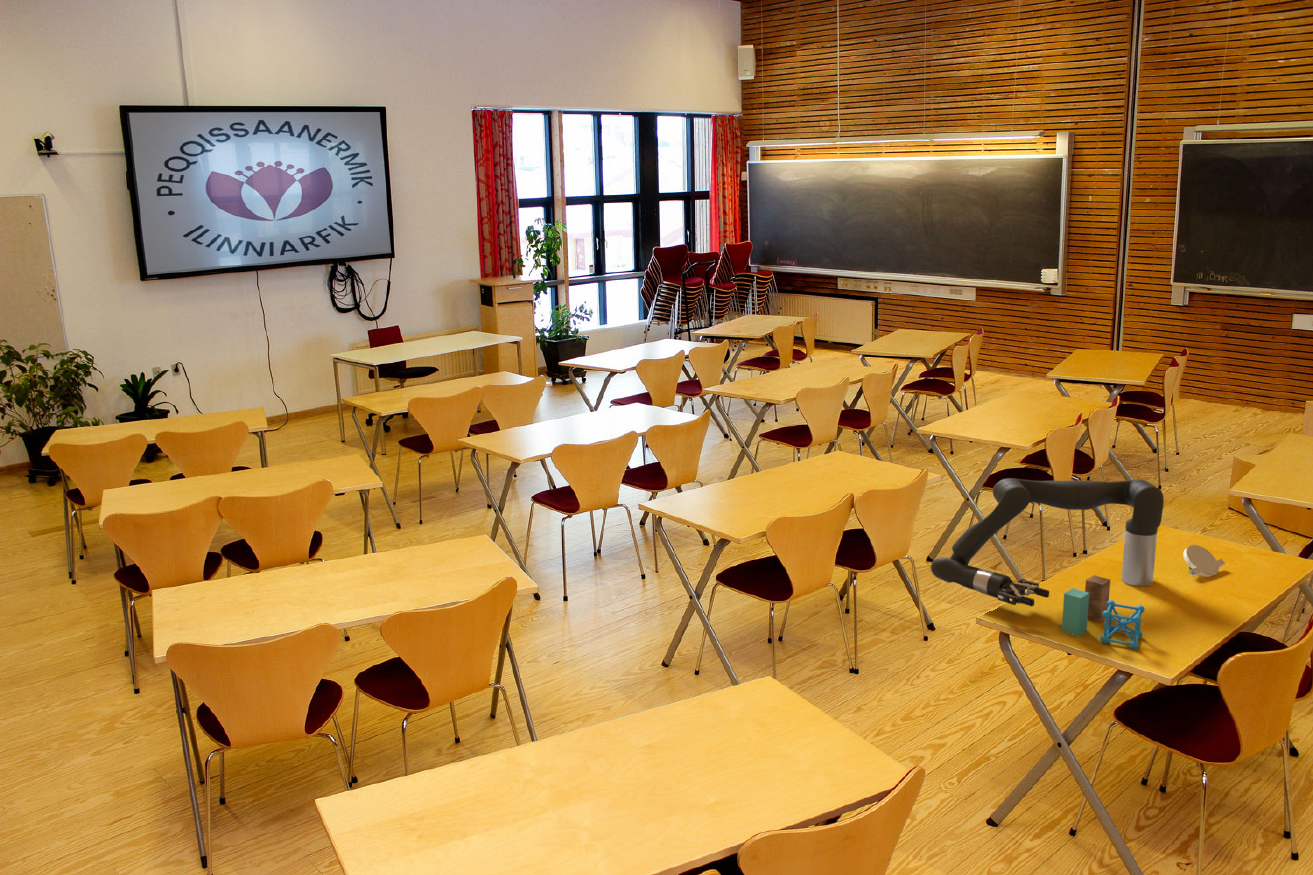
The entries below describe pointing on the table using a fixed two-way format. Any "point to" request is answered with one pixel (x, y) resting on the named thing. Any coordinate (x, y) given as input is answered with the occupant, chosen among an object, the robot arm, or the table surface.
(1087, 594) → the teal pillar
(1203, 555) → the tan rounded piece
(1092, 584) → the walnut pillar
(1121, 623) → the molecular structure
